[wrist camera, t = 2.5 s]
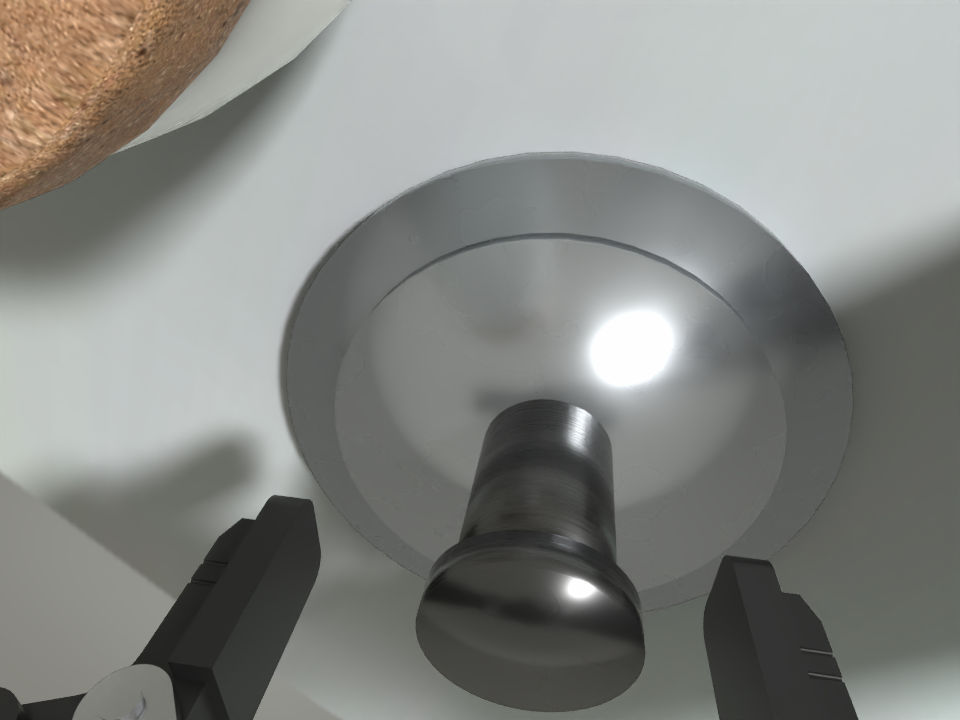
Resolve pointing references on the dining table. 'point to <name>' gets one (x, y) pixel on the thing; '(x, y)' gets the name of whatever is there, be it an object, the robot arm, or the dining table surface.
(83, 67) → the lidded bowl
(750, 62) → the dining table surface
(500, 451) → the steel lid
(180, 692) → the robot arm
